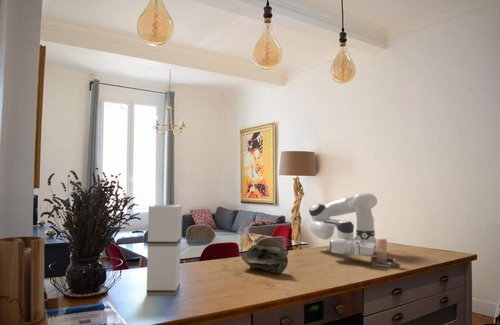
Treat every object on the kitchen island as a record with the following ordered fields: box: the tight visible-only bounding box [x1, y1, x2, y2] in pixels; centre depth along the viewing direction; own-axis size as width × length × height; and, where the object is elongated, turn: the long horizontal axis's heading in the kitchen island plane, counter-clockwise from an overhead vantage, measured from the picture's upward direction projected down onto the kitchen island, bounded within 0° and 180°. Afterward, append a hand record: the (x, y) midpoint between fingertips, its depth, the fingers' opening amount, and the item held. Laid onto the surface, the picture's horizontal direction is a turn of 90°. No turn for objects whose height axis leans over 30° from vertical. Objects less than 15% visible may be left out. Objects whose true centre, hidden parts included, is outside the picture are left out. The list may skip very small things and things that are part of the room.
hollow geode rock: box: [241, 243, 289, 275], centre depth 191 cm, size 28×13×15 cm
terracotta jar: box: [375, 238, 388, 262], centre depth 210 cm, size 6×6×12 cm
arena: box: [370, 256, 397, 269], centre depth 210 cm, size 14×14×2 cm
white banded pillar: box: [146, 204, 182, 297], centre depth 153 cm, size 11×11×35 cm
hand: (383, 249), depth 209 cm, fingers closed on terracotta jar, 5 cm apart
